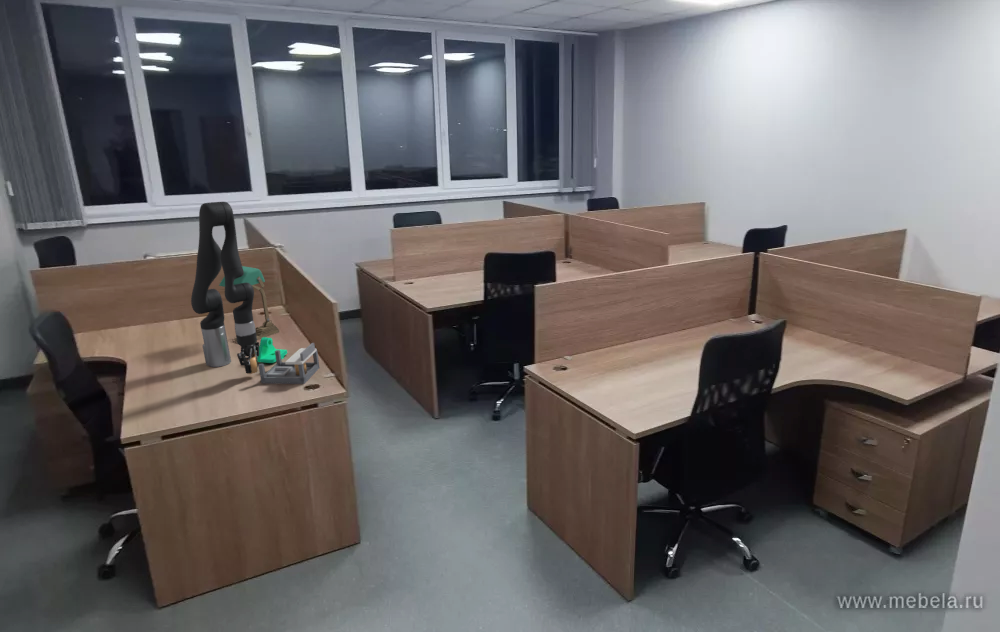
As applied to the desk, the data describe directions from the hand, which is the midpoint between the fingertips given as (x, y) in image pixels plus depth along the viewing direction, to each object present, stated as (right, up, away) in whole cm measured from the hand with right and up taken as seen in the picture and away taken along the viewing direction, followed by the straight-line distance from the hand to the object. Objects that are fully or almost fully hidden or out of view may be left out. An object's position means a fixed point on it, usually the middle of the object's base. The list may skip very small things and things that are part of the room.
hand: (251, 370), depth 240 cm
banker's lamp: (-18, +12, +47) cm, 52 cm away
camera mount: (+2, +3, +19) cm, 19 cm away
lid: (+21, +6, -2) cm, 22 cm away
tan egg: (0, -1, 0) cm, 1 cm away
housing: (+16, -2, +1) cm, 16 cm away
